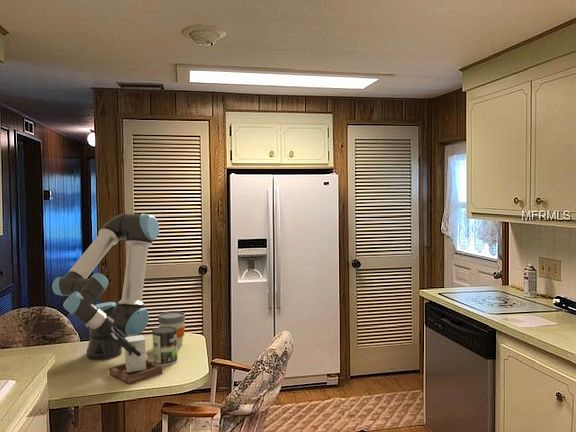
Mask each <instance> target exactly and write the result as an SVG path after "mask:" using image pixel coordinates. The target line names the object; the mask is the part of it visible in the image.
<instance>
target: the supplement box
mask: <svg viewBox="0 0 576 432" xmlns="http://www.w3.org/2000/svg"><path fill="white" fill-rule="evenodd" d="M125 339H126V340H127V341H128V342H129V343H131V344H132V345H133V346H135V347H137V348H138V349H139V350H140V351H142V352H143V353H144V354H146V339H145V337H144V335H143V334H138V335H129V336H128V337H125ZM124 363H125V366H126V369H127V372H133V371H140V370H146V360H145V361H144V362H142V361H141V360H140V359H139V358H137V357H136V356H135V355H133V354H132V353H131V354H129V352H128V351H127V350H125V349H124Z"/></svg>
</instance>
